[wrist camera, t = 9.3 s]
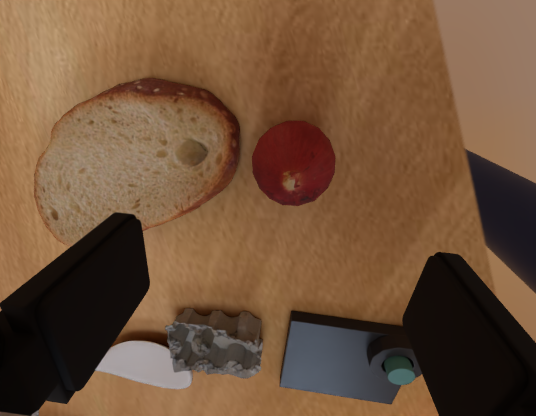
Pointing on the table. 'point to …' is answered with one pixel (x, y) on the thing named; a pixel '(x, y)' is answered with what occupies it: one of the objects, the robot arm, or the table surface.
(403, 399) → the table surface
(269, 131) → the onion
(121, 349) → the white plastic spork
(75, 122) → the bread slice
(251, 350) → the egg carton
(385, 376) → the scale
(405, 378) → the button
